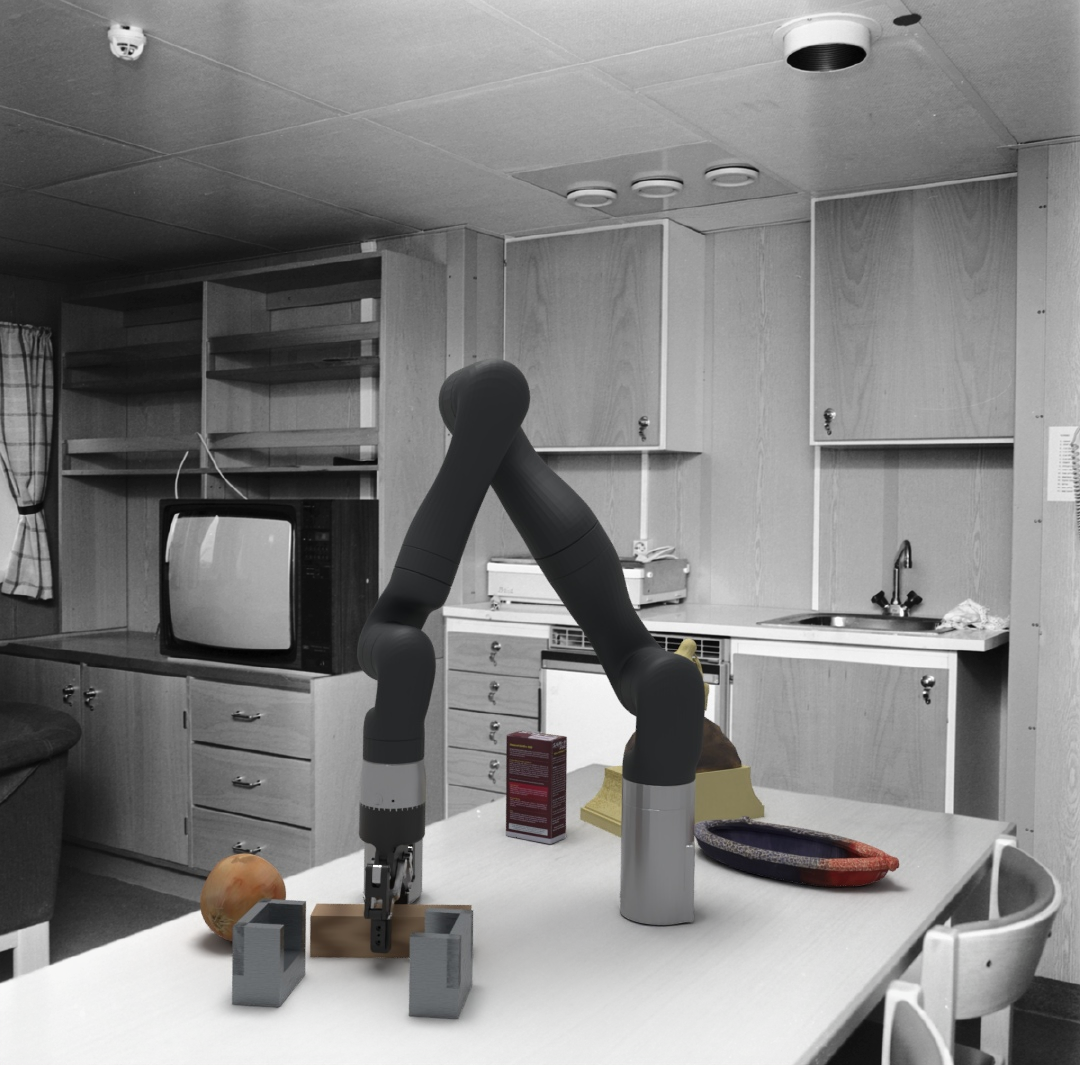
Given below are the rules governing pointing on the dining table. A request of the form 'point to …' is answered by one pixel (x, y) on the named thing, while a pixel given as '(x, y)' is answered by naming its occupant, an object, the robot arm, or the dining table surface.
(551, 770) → the supplement box
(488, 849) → the dining table surface
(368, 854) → the can
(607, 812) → the decorative clock
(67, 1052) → the dining table surface
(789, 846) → the dish
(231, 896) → the onion
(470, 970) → the cup brackets
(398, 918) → the rail
